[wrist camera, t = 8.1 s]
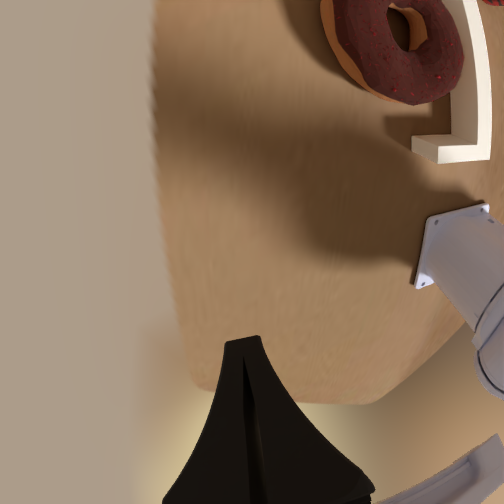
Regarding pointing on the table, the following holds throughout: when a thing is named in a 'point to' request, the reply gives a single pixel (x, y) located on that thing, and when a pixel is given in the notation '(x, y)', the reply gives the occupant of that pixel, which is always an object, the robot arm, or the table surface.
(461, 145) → the stop
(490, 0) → the deodorant
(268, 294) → the table surface
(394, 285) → the table surface
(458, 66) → the donut
